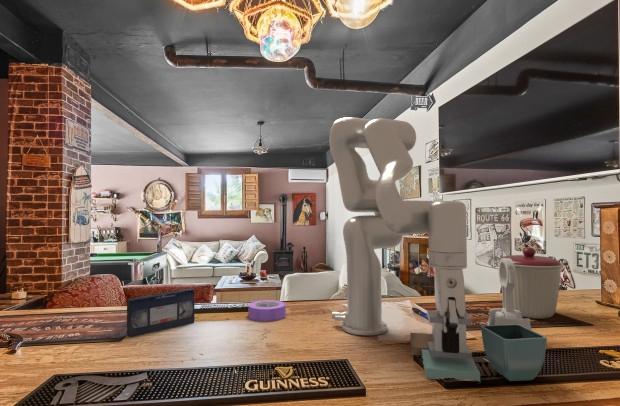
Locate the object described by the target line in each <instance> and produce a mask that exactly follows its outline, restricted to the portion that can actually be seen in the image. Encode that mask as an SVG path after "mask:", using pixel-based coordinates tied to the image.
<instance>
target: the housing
mask: <svg viewBox="0 0 620 406" xmlns="http://www.w3.org/2000/svg"><path fill="white" fill-rule="evenodd" d="M426 314H427V315H426V316H427V319H428V321H429V323H430V324H431V327H432V329H431V332H432V333H431V334H432V342H428V350H429V354H430V356H435V357H449V358H462V359H473V352H472V351H471V349H470V347H469V346H468V344H467V326H472V318H471V317H470V315H469V313H468V312H467V311H466V318H465V319H462V318H461V317H460V316H459V314H458V328H459V353H446V352H443V350H442V332H444V330H443V318H442V317H441V316H440V314H439V312H438V310H432V309H431V310H427V311H426ZM445 317H449V314H445ZM446 322H449V320H446Z"/></svg>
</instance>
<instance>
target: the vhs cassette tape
mask: <svg viewBox="0 0 620 406" xmlns="http://www.w3.org/2000/svg"><path fill="white" fill-rule="evenodd" d="M195 320H196V319H195V289H194V288H187V289H180V290H179V289H178V290H173V291H169V292H162V293H156V294H150V295H143V296H138V297H132V298H131V297H130V298H127V299H126V335H127V337H129V338H134V337H138V336H144V335H148V334H151V333H156V332H161V331H164V330H165V331H166V330H170V329H174V328H178V327H183V326H187V325H191V324H194V323H195Z"/></svg>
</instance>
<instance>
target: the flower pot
mask: <svg viewBox="0 0 620 406" xmlns="http://www.w3.org/2000/svg"><path fill="white" fill-rule="evenodd" d="M480 333H481V338H482V344H483V346H482V347H483V349H484V353H485V356H486V359H487V360H488V362H489V364H490V365H491V367H492V369H493V370H494V369H495V370H496V371H497V372H499V373H500V374H501V375H503V376H504V377H505V378H507V379H508V380H509V382H520V381H533V380H534V379H536V377H537V376H538V374H540V373H539V372H540V371H541V369H542V368H543V365H544V363H545V362H544V361H545V357H546V351H547V350H546V349H547V342H548V341H547V340H548V337H547V336H545V335H543V334H540V333H538V332H537V331H533V330H532V329H531V330H530V329H528V328H526V327H524V326H522V325H519V324H509V325H486V324H485V325H484V324H483V325H480ZM495 370H494V371H495ZM496 371H495V372H496ZM497 372H496V373H497ZM500 374H499V375H500ZM501 375H500V376H501ZM503 376H502V377H503ZM504 377H503V378H504ZM505 378H504V379H505ZM507 379H506V380H507ZM508 380H507V381H508Z"/></svg>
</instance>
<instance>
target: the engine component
mask: <svg viewBox="0 0 620 406" xmlns="http://www.w3.org/2000/svg"><path fill="white" fill-rule="evenodd" d="M501 258H502V257H501ZM501 258H500V259H501ZM498 278H499V283H500V286H501V295H502V296H501V297H502V308H501V307H497V308H496V307H495V308H491V309H489V311H488V319H487V325H509V324H519V325H522V326H524V327H526V328H528V329H530V330H532V327H531V318H526V317H525V318H524V317H522V313H521V312H520V311H519V310H514V296H513V288H514V287H515V284H516V271H515V266H514V263H513V261H512V259H510V258H502V259H501V260H500V262H499V263H498Z"/></svg>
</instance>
